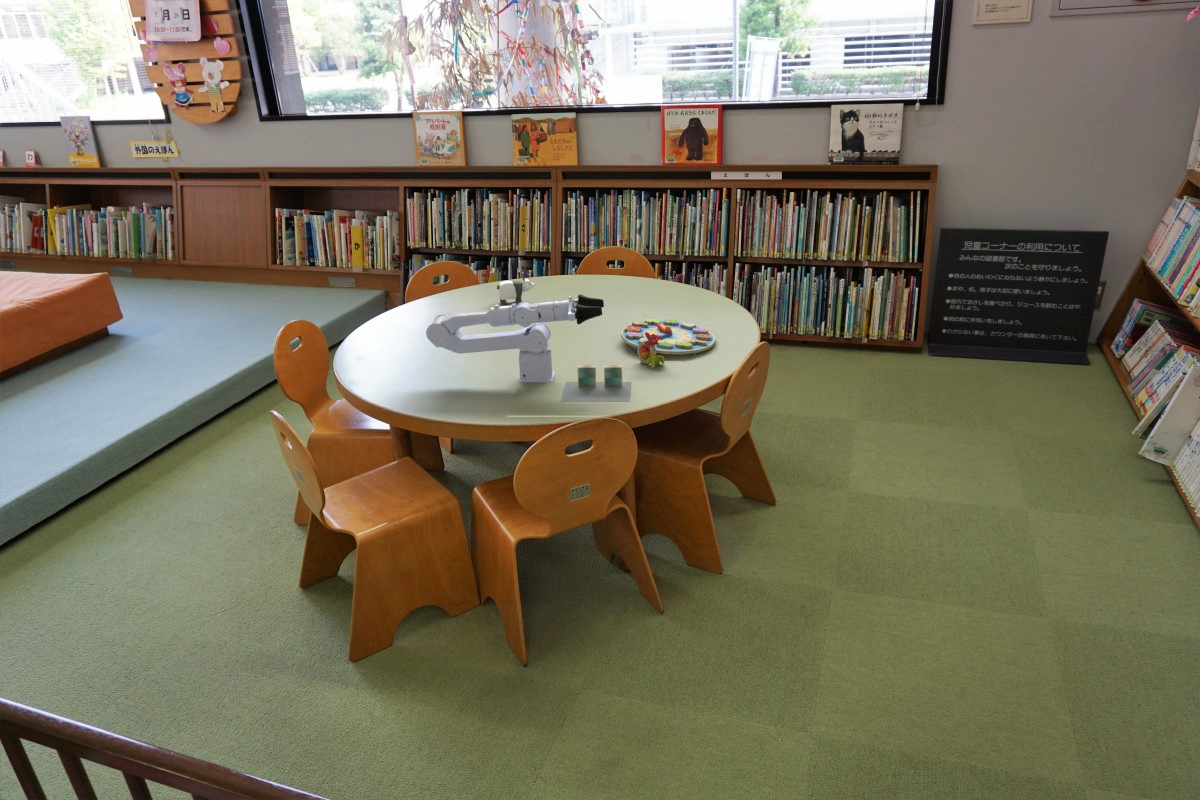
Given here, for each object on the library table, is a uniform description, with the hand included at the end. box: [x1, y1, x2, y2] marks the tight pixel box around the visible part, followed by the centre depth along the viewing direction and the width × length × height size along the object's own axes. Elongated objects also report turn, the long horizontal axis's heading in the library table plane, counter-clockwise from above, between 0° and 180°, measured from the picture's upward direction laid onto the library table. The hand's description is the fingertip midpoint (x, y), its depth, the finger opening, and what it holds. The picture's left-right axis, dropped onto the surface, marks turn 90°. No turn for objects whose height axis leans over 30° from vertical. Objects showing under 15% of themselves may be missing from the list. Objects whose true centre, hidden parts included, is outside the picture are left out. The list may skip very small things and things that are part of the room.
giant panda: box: [496, 277, 536, 306], centre depth 310 cm, size 15×6×10 cm, turn 103°
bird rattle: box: [636, 332, 665, 369], centre depth 244 cm, size 6×11×9 cm
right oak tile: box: [603, 364, 623, 387], centre depth 230 cm, size 5×2×6 cm, turn 86°
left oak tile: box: [577, 364, 597, 387], centre depth 230 cm, size 5×2×6 cm, turn 86°
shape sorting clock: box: [620, 318, 716, 355], centre depth 264 cm, size 31×30×6 cm
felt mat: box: [560, 381, 632, 403], centre depth 228 cm, size 19×14×1 cm
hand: (602, 307), depth 229 cm, fingers open, 7 cm apart
